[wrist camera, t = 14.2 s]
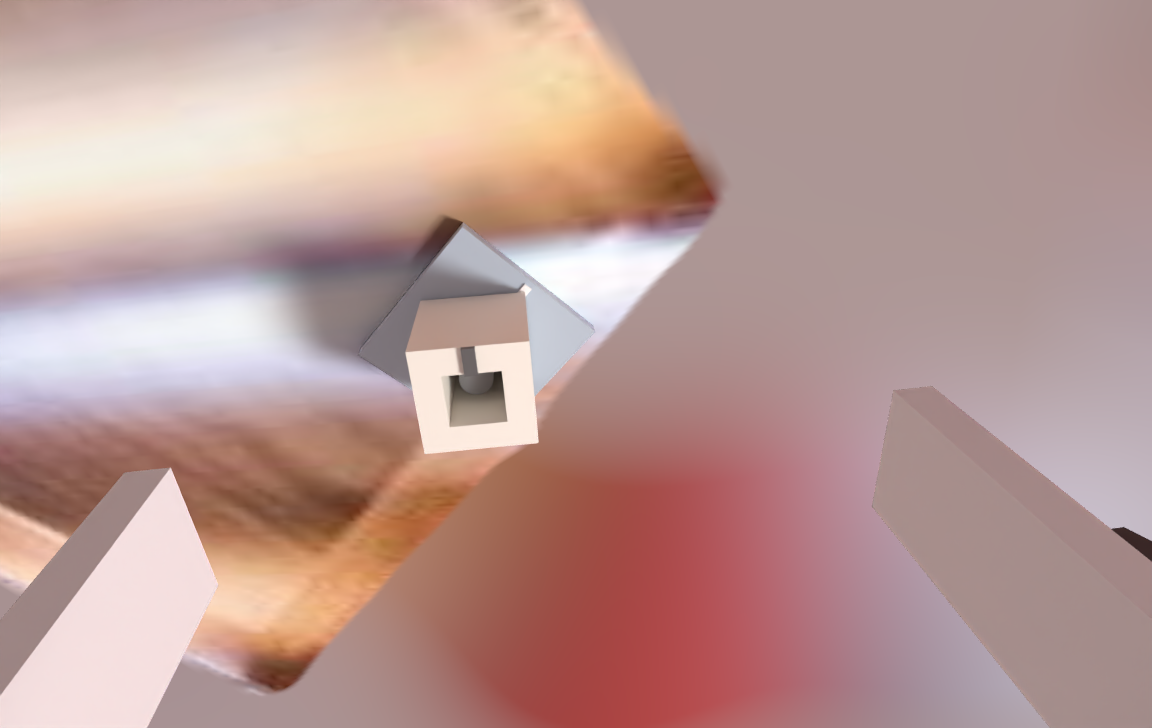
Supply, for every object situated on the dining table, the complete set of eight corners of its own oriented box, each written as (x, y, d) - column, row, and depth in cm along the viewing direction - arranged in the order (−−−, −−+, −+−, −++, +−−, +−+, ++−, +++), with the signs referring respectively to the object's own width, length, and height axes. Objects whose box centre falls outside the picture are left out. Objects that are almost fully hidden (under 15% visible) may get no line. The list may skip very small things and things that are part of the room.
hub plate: (360, 347, 48) (341, 393, 42) (463, 222, 45) (458, 251, 38) (491, 433, 52) (491, 486, 46) (592, 325, 49) (606, 366, 43)
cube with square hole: (435, 391, 49) (424, 456, 41) (420, 300, 45) (404, 354, 38) (533, 382, 49) (538, 445, 42) (525, 291, 46) (529, 343, 38)
